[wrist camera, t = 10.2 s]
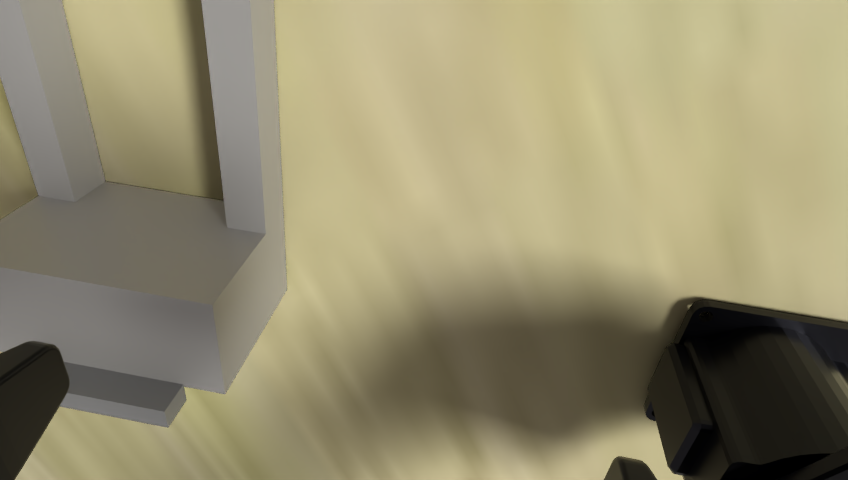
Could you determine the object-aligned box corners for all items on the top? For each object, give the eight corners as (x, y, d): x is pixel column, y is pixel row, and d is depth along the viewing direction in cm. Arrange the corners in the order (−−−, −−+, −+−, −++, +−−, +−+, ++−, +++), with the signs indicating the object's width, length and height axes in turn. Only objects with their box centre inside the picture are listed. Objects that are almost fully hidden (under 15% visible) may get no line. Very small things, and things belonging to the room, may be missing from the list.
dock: (264, -207, 15) (87, -279, 9) (287, 302, 24) (210, 435, 18) (-45, -242, 15) (-411, -330, 9) (96, 268, 25) (-39, 387, 19)
